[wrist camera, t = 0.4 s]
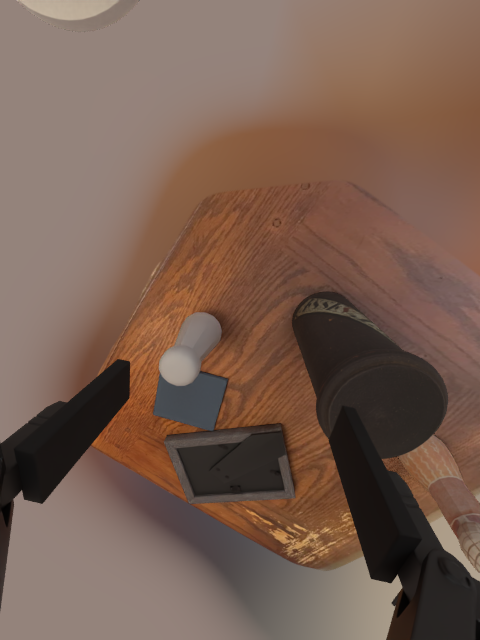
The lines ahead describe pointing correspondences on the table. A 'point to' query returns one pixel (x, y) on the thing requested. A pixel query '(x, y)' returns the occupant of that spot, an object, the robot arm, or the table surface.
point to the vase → (447, 492)
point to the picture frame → (232, 464)
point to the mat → (191, 400)
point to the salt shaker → (190, 349)
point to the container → (367, 375)
